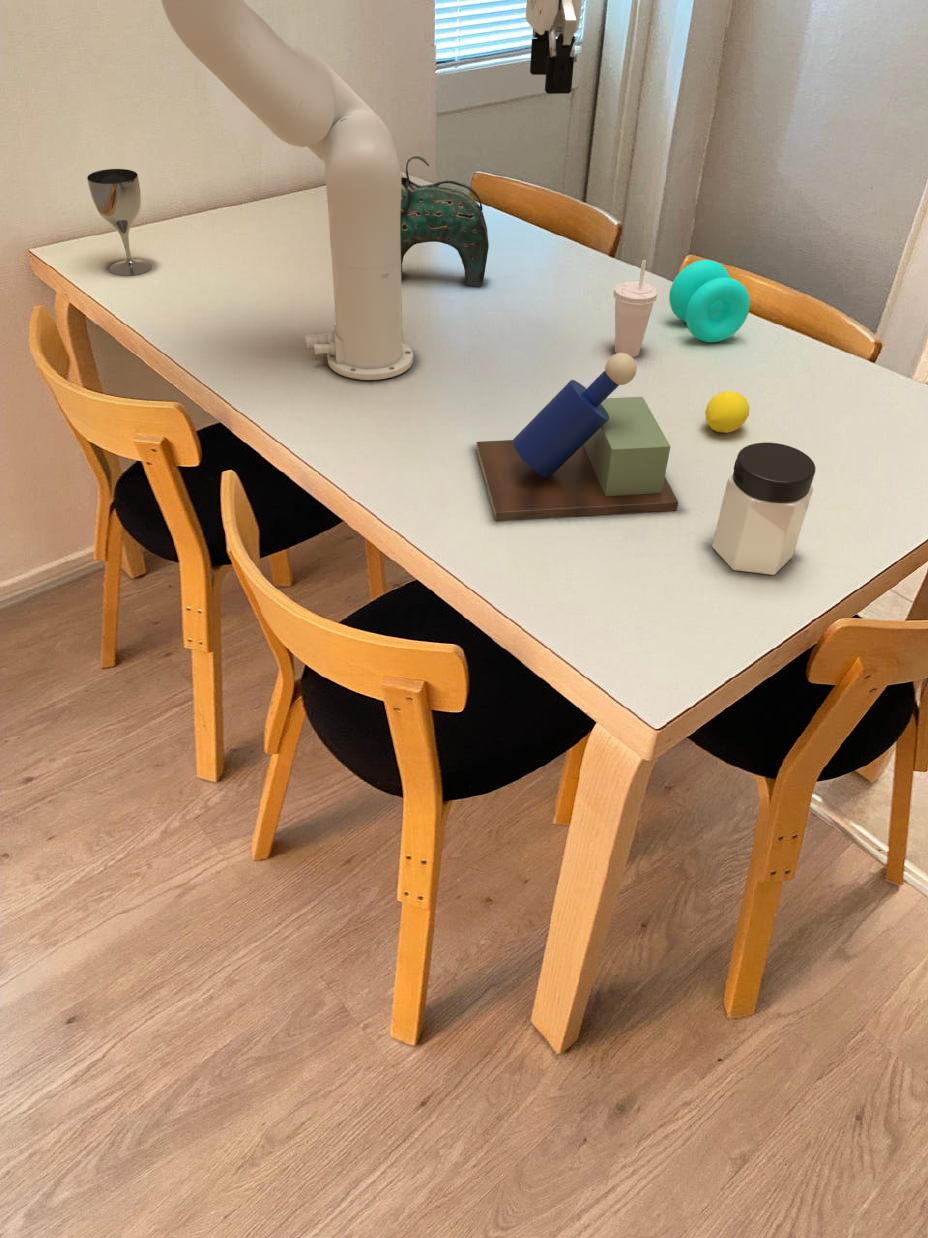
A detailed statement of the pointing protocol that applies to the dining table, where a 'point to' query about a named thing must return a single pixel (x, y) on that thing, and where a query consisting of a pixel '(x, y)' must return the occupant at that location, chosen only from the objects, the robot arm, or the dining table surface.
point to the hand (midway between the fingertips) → (549, 83)
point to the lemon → (727, 411)
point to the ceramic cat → (445, 222)
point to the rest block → (629, 449)
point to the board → (555, 488)
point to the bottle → (571, 418)
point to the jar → (764, 507)
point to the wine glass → (119, 210)
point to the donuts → (709, 301)
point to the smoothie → (632, 313)
